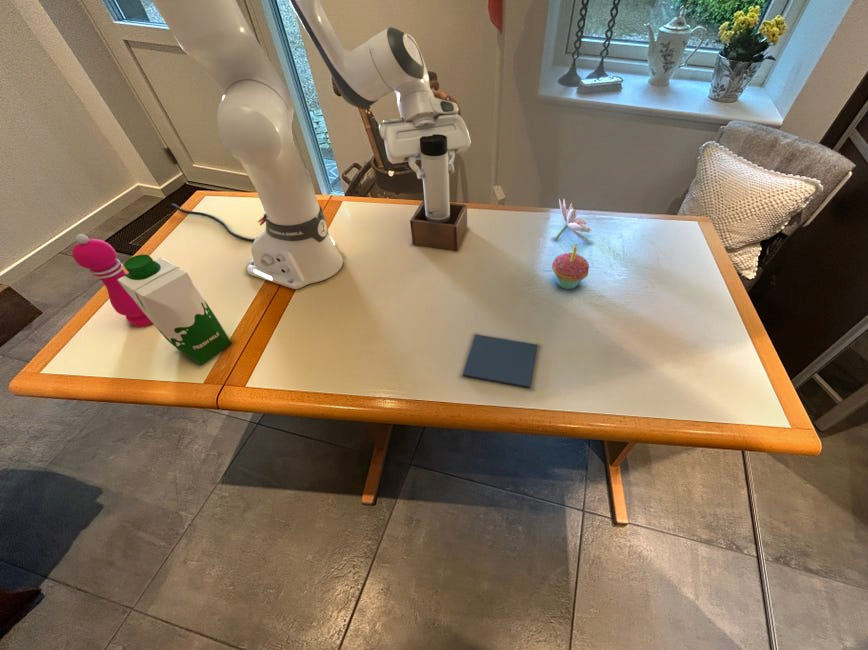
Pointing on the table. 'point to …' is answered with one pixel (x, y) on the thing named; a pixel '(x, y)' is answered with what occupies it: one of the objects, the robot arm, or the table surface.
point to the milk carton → (174, 307)
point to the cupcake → (570, 269)
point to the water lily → (573, 221)
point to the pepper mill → (108, 276)
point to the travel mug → (435, 177)
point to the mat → (501, 361)
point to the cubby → (439, 228)
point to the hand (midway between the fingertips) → (436, 175)
